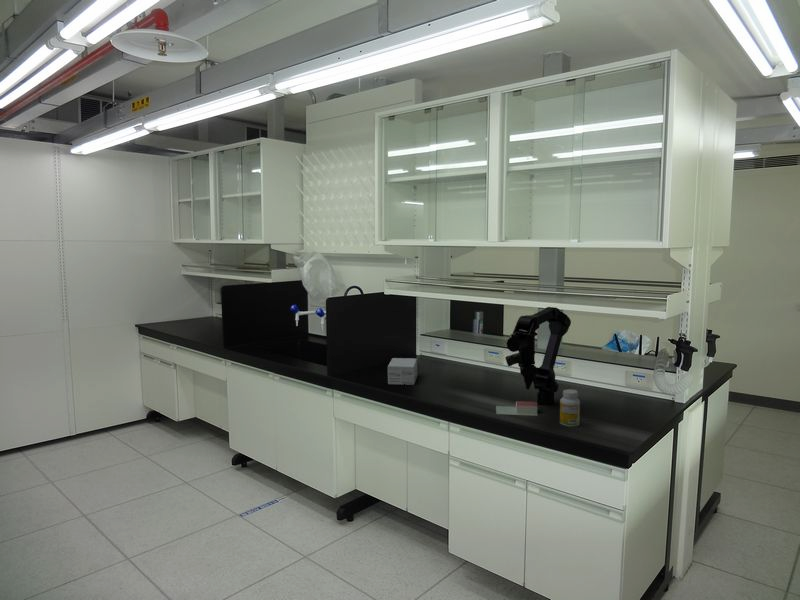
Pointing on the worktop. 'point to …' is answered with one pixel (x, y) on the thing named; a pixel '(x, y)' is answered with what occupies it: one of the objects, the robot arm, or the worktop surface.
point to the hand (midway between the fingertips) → (526, 385)
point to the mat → (510, 411)
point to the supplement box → (402, 371)
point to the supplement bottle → (570, 408)
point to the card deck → (526, 407)
